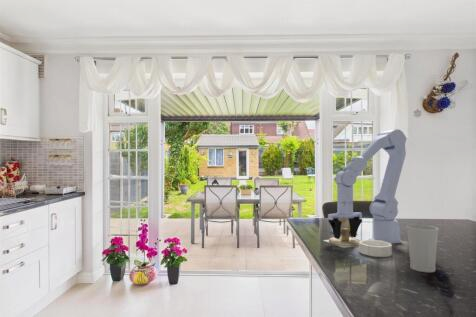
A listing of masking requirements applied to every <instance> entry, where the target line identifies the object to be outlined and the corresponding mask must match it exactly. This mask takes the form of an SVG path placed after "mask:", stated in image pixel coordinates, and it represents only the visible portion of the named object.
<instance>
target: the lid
mask: <svg viewBox="0 0 476 317" xmlns="http://www.w3.org/2000/svg"><path fill="white" fill-rule="evenodd" d="M328 240H329V242H330V243H329V244H331V243H332V244H331V245H334V244H335V245H334V246H337V245H339V246H355V247H359V241H360V240H361V239H358V238H356V237H350V233H349V229H347V228H342V229H341V232H340V239H336V238H335V237H334V236H333V237H330V238H328ZM339 246H338V247H339Z"/></svg>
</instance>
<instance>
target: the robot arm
mask: <svg viewBox="0 0 476 317" xmlns="http://www.w3.org/2000/svg"><path fill="white" fill-rule="evenodd" d="M407 138H408V137H407V136H406V135H405V133H404V132H403V131H402V130H401V129H398V128H397V129H396V128H395V129H391V130H385V131H380V132H378V133H377V135H375V136H374V137H373V139H372V141H371V142H370V144H368V146H367V147H366V148H365V149H364V151H363V152H362V153H361V154H360V156H359V155H358V156H354V157H351V158H350V162H349V163H348V164H346V166H343V167H342V170H340V171H337V173H336V174H335V176H334V183H335V184H336V192H337V194H336V195H337V199H336V200H337V201H336V202H337V204H336V206H337V210H336V211H337V212H335V213H333V212H332V213H329V214H327V219H328V223H329V225H330V227H331V229H332V232H333V237H335V238H336V239H340V237H341V232H340V228H341V224H342V221H339V220H338V219H348V220H349V224H350V233H349V236H350V238H356V237H357V233H358V230H359V228H360V225H361V223H362V222H363V219H362V218H363V213H362V212H359V211H358V212H354V185H355V184H356V182H357V178H358V177H359V176H360V174H361V173H362V172H364V171H365V169H366V168H367V166H368V162H369V161H370V159H372V158H373V157H374V156H375V155H376V154H377V153H378V152H379V151H380V150H381V149H382V150H384V151H385V152H386V153H387V155H388V156H389V157H388V160H387V164H386V168H385V170H384V175H383V179H382V182H381V187H380V190H379V193H377V195H375V196H374V198H373V200H372V202H371V203H370V205H369V213H370V214H371V215H372V218H373V219H372V220H373V221H372V222H373V223H372V226H373V230H372V232H373V233H372V236H373V238H368V239H367V240H379V241H384V242H388V243H391V244H398V243H399V244H400V243H402V242H403V241H402V240H401V225H400V222H399V221H398V220H397V219H396V217H397V216H398V213H399V210H398V205H399V202H398V200H397V199H396V197H395V195H396V193H397V189H398V185H399V181H400V177H401V175H402V174H401V173H402V170H403V166H404V162H405V159H406V156H407V154H406V153H407V150H406V142H407Z"/></svg>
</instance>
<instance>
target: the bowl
mask: <svg viewBox="0 0 476 317" xmlns="http://www.w3.org/2000/svg"><path fill="white" fill-rule="evenodd" d="M359 240H360V241H359V246H358V252H359V253H360V254H362V255H364V256H370V257H375V258H376V257H377V258H385V257H386V258H387V257H391V256H393V254H392V253H393V252H392V251H393V250H392V249H393V248H392V246H393V245H392V243H388V242H384V241H379V240H368V239H362V240H361V239H359Z"/></svg>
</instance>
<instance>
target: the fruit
mask: <svg viewBox="0 0 476 317" xmlns="http://www.w3.org/2000/svg"><path fill="white" fill-rule="evenodd" d="M338 220H339V221H342V224H341V228H340V233H341V229H342V228H347V229H349V234H350V224H349V220H348V219H338Z"/></svg>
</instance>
